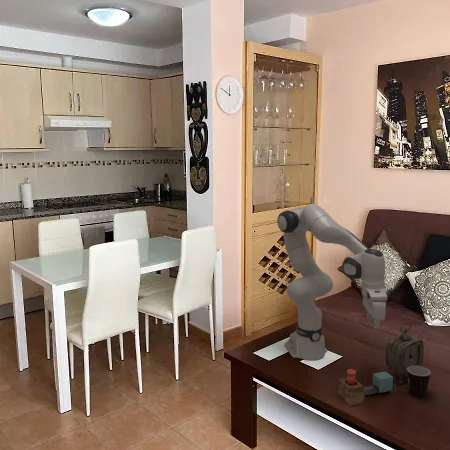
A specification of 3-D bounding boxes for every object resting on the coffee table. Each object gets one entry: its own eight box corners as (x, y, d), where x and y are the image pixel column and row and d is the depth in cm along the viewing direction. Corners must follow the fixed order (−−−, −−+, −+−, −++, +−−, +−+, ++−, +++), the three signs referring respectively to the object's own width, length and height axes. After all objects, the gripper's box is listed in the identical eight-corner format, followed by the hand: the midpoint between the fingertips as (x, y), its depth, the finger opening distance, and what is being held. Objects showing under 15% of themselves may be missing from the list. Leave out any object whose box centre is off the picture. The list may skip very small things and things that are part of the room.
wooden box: (338, 395, 187) (339, 379, 186) (351, 392, 189) (351, 376, 188) (350, 405, 180) (350, 389, 179) (363, 402, 182) (363, 386, 181)
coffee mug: (410, 386, 193) (411, 363, 192) (431, 392, 188) (433, 369, 186) (400, 398, 185) (401, 374, 183) (423, 405, 179) (424, 381, 177)
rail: (355, 394, 187) (355, 381, 186) (389, 387, 193) (390, 373, 192) (361, 399, 184) (361, 385, 183) (396, 392, 189) (396, 378, 188)
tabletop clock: (401, 386, 193) (403, 329, 189) (383, 378, 201) (385, 323, 197) (422, 376, 201) (425, 322, 197) (404, 368, 209) (406, 315, 204)
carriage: (372, 387, 190) (372, 373, 189) (384, 384, 192) (385, 371, 191) (380, 393, 186) (380, 379, 185) (392, 390, 188) (393, 376, 187)
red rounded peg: (344, 383, 185) (345, 369, 184) (352, 381, 186) (352, 368, 185) (349, 387, 181) (350, 374, 180) (357, 386, 182) (358, 372, 181)
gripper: (359, 283, 195) (359, 315, 197) (371, 298, 174) (371, 333, 176) (374, 283, 194) (374, 315, 196) (388, 297, 174) (388, 332, 176)
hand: (373, 323), depth 186 cm, fingers open, 8 cm apart
